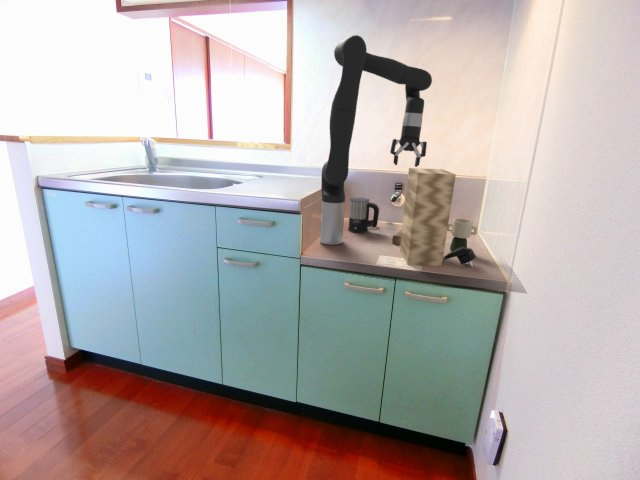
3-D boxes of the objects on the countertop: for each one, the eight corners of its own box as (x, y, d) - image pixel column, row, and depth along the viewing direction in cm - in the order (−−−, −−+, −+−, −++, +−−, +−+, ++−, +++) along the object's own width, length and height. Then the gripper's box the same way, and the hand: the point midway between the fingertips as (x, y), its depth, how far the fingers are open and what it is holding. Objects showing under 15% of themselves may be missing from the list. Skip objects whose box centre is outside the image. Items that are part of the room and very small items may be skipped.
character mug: (473, 251, 137) (478, 220, 133) (472, 257, 131) (478, 224, 127) (444, 247, 142) (449, 216, 138) (442, 252, 136) (447, 220, 132)
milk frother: (347, 232, 157) (349, 200, 153) (346, 223, 172) (348, 194, 168) (379, 234, 157) (382, 201, 152) (375, 224, 172) (378, 195, 167)
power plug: (437, 256, 129) (468, 242, 124) (447, 273, 129) (478, 259, 124) (437, 261, 124) (469, 246, 119) (447, 279, 124) (480, 265, 119)
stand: (407, 264, 122) (418, 173, 112) (399, 250, 136) (408, 168, 126) (441, 266, 122) (455, 174, 112) (430, 251, 136) (442, 169, 126)
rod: (391, 244, 144) (392, 235, 143) (411, 232, 162) (412, 224, 161) (401, 246, 142) (402, 237, 141) (419, 233, 160) (420, 225, 159)
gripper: (396, 123, 137) (390, 165, 142) (432, 126, 137) (425, 168, 142) (392, 124, 144) (387, 163, 149) (426, 127, 144) (420, 166, 149)
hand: (405, 165), depth 145 cm, fingers open, 8 cm apart
